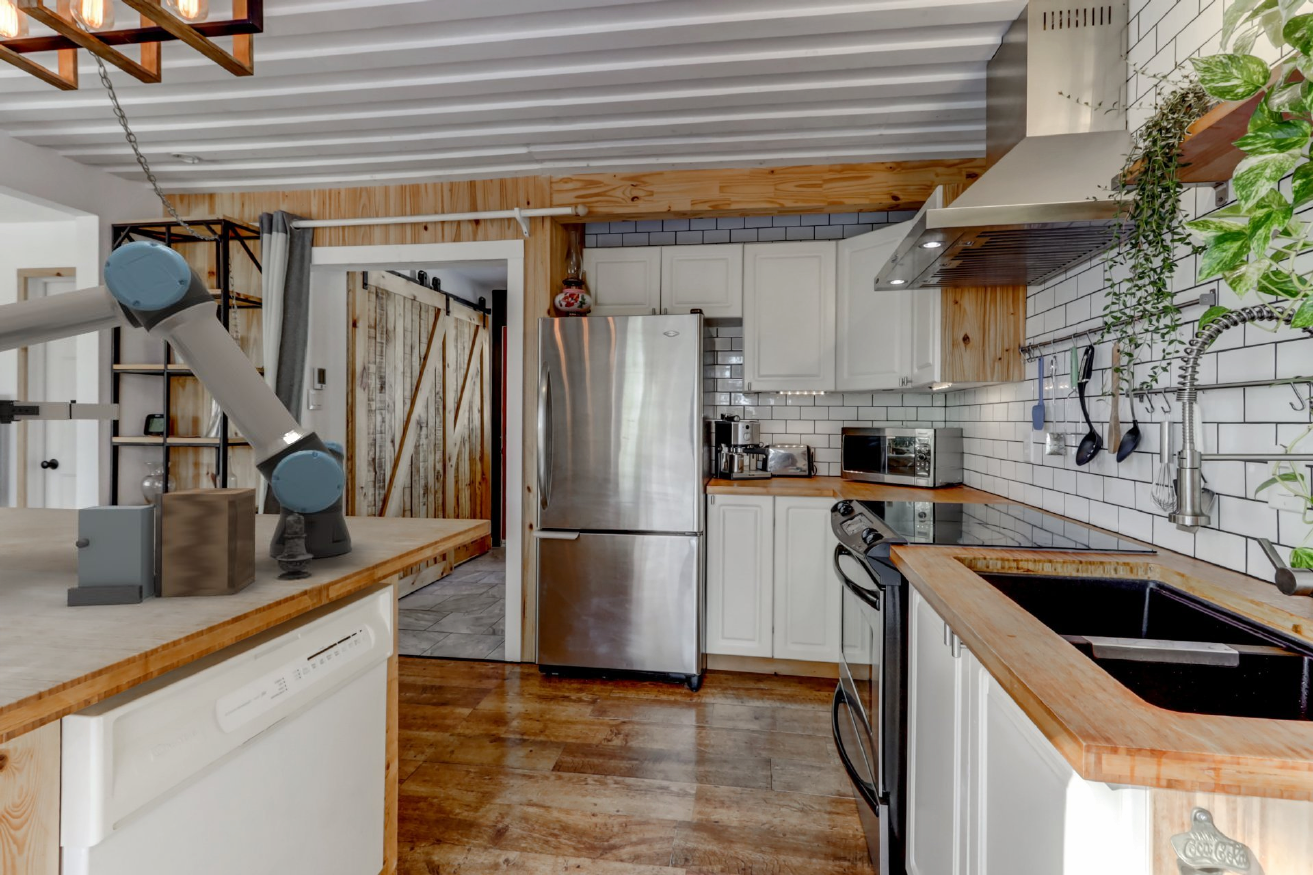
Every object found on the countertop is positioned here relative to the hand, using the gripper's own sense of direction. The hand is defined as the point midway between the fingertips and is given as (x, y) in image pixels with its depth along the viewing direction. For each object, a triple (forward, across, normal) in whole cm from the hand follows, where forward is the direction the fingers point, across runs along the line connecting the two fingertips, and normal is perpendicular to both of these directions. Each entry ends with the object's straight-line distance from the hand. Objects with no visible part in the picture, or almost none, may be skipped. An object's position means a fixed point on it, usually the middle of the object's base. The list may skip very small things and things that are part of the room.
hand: (95, 411), depth 104 cm
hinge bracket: (+6, +7, -29) cm, 30 cm away
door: (+6, +7, -29) cm, 30 cm away
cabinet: (+17, +3, -29) cm, 34 cm away
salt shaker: (+28, -4, -29) cm, 41 cm away
